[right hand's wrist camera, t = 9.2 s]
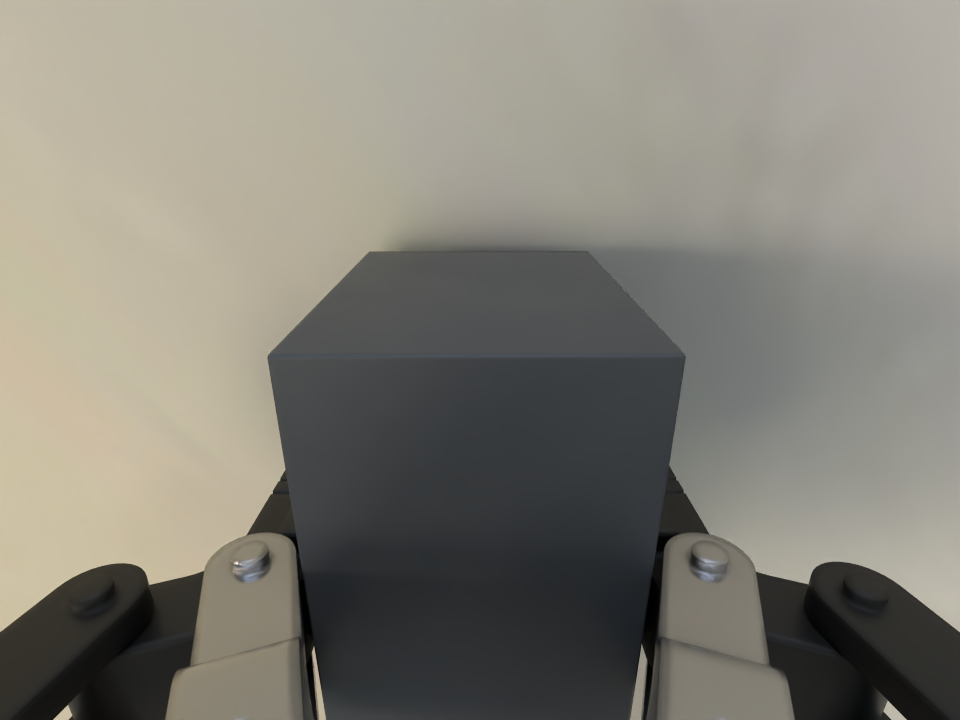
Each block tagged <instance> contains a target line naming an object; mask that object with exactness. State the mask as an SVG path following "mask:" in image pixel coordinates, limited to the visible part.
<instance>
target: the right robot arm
mask: <svg viewBox="0 0 960 720" xmlns="http://www.w3.org/2000/svg"><path fill="white" fill-rule="evenodd" d="M683 491H684V490H683V489H682V487H681V485H680V483H679V482H678V481H676V477H675V475H674V473H673V472H672V470H671V468H670V466H669V469H668V475H667V482H666V488H665V495H664V501H663V508H662V514H661V521H660V527H659V534H658V540H657V547H656V553H655V560H654V566H653V573H652V579H651V586H650V592H649V599H648V605H647V612H646V618H645V625H644V631H643V638H642V646H643V649H644V652H645V655H646V658H647V663H646V669H645V680H644V691H643V703H642V714H641V720H891V719H890V718H889V717H888V716H887V715H886V714H885V713H884V712H883V711H884V708H885V706H886V703H887V701H889V702H890V703H891V704H892V705H893V706H894V707H895V708H896V709H897V710H898V711H899V712H900V713H901V714H902V715H903V716H904V717H905V718H906V719H907V720H960V632H959V631H957V630H956V629H955V628H953V627H952V626H951V625H950V624H948V623H947V622H946V621H944V620H943V619H942V618H941V617H939V616H938V615H937V614H936V613H934V612H933V611H932V610H930V609H929V608H928V607H927V606H925V605H924V604H923V603H921V602H920V601H919V600H918V599H916V598H915V597H914V596H913V595H911V594H910V593H909V592H907V591H906V590H905V589H904V588H902V587H901V586H900V585H898V584H897V583H895V582H894V581H893V580H891V579H889V578H887V577H886V576H884V575H882V574H880V573H878V572H876V571H873V570H871V569H869V568H866V567H863V566H859V565H856V564H851V563H845V562H828V563H824V564H821V565H819V566H817V567H816V568H815V569H814V570H813V572H812V574H811V578H810V581H809V585H808V584H803V583H799V582H795V581H790V580H786V579H782V578H777V577H773V576H769V575H765V574H761V573H758V572H756V571H755V567H754V565H753V563H752V561H751V560H750V558H749V557H748V556H747V555H746V554H745V553H744V552H743V551H742V550H741V549H739V548H738V547H737V546H735V545H734V544H732V543H730V542H728V541H726V540H724V539H722V538H719V537H716V536H713V535H709V533H708V531H707V529H706V528H705V526H704V524H703V523H702V521H701V519H700V517H699V516H698V514H697V512H696V511H695V509H694V507H693V506H692V504H691V502H690V500H689V499H688V497H687V495H686V494H684V492H683ZM313 647H314V641H313V635H312V628H311V622H310V616H309V610H308V604H307V598H306V591H305V585H304V579H303V573H302V567H301V561H300V554H299V548H298V542H297V536H296V530H295V524H294V517H293V511H292V505H291V499H290V493H289V487H288V480H287V474H286V470H285V472H284V473H283V475H282V477H281V481H279V482H278V483H277V485H276V487H275V488H274V490H273V494H271V495H270V497H269V499H268V500H267V502H266V504H265V505H264V507H263V509H262V510H261V512H260V514H259V515H258V517H257V519H256V520H255V522H254V524H253V525H252V527H251V529H250V530H249V532H248V534H247V535H246V536H244V537H241V538H238V539H236V540H234V541H232V542H230V543H228V544H226V545H225V546H223V547H222V548H221V549H219V550H218V551H217V552H216V553H215V554H214V555H213V556H212V557H211V558H210V560H209V561H208V563H207V565H206V567H205V570H204V571H203V572H200V573H197V574H194V575H191V576H187V577H183V578H178V579H174V580H170V581H165V582H161V583H156V584H152V585H149V583H148V579H147V576H146V574H145V572H144V571H143V570H142V569H141V568H140V567H138V566H135V565H132V564H125V563H123V564H110V565H105V566H101V567H97V568H94V569H91V570H89V571H86V572H84V573H81V574H79V575H77V576H75V577H73V578H72V579H70V580H68V581H67V582H65V583H63V584H62V585H61V586H59V587H58V588H56V589H55V590H54V591H53V592H51V593H50V594H49V595H47V596H46V597H45V598H44V599H42V600H41V601H40V602H39V603H37V604H36V605H35V606H33V607H32V608H31V609H30V610H28V611H27V612H26V613H24V614H23V615H22V616H21V617H19V618H18V619H17V620H15V621H14V622H13V623H12V624H10V625H9V626H8V627H7V628H5V629H4V630H3V631H1V632H0V720H53V719H54V718H55V717H56V716H57V715H58V714H59V713H60V712H61V711H62V710H63V709H64V708H65V707H66V706H67V705H68V706H69V708H70V711H71V713H72V715H73V716H72V717H71V718H70V719H69V720H319V714H318V703H317V691H316V680H315V669H314V663H313V656H312V650H313Z"/></svg>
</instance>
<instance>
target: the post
mask: <svg viewBox="0 0 960 720" xmlns="http://www.w3.org/2000/svg"><path fill="white" fill-rule="evenodd" d="M685 358H686V357H685V354H684V353H683V352H682V351H681V350H680V349H679V348H678V347H677V346H676V345H675V344H674V342H673V341H672V340H671V339H670V338H669V337H668V336H667V335H666V334H665V333H664V332H663V331H662V330H661V329H660V328H659V327H658V326H657V324H656V323H655V322H654V321H653V320H652V319H651V318H650V317H649V316H648V315H647V314H646V313H645V312H644V311H643V310H642V309H641V308H640V306H639V305H638V304H637V303H636V302H635V301H634V300H633V299H632V298H631V297H630V296H629V295H628V294H627V293H626V292H625V291H624V290H623V288H622V287H621V286H620V285H619V284H618V283H617V282H616V281H615V280H614V279H613V278H612V277H611V276H610V275H609V274H608V273H607V272H606V270H605V269H604V268H603V267H602V266H601V265H600V264H599V263H598V262H597V261H596V260H595V259H594V258H593V257H592V256H591V255H590V254H589V252H587V251H465V252H369V253H368V254H367V255H366V256H365V257H364V258H363V259H362V260H361V261H360V262H359V263H358V264H357V265H356V266H355V267H354V268H353V269H352V270H351V271H350V272H349V273H348V274H347V275H346V276H345V277H344V278H343V279H342V280H341V281H340V282H339V283H338V284H337V285H336V286H335V287H334V288H333V289H332V290H331V291H330V292H329V293H328V295H327V296H326V297H325V298H324V299H323V300H322V301H321V302H320V303H319V304H318V305H317V306H316V307H315V308H314V309H313V310H312V311H311V312H310V313H309V314H308V315H307V316H306V317H305V318H304V319H303V320H302V321H301V322H300V323H299V324H298V325H297V326H296V327H295V328H294V329H293V330H292V331H291V332H290V333H289V334H288V335H287V336H286V337H285V338H284V340H283V341H282V342H281V343H280V344H279V345H278V346H277V347H276V348H275V349H274V350H273V351H272V352H271V353H270V354H269V355H268V363H269V370H270V376H271V382H272V388H273V394H274V400H275V407H276V413H277V419H278V425H279V431H280V437H281V444H282V450H283V456H284V462H285V468H286V474H287V480H288V487H289V493H290V499H291V505H292V511H293V517H294V524H295V530H296V536H297V542H298V548H299V554H300V561H301V567H302V573H303V579H304V585H305V591H306V598H307V604H308V610H309V616H310V622H311V628H312V635H313V641H314V647H315V653H316V659H317V665H318V671H319V678H320V684H321V690H322V696H323V702H324V708H325V715H326V720H630V716H631V709H632V703H633V696H634V690H635V683H636V677H637V670H638V664H639V657H640V651H641V644H642V638H643V631H644V625H645V618H646V612H647V605H648V599H649V592H650V586H651V579H652V573H653V566H654V560H655V553H656V547H657V540H658V534H659V527H660V521H661V514H662V508H663V501H664V495H665V488H666V482H667V475H668V469H669V462H670V456H671V449H672V443H673V436H674V430H675V423H676V417H677V410H678V403H679V397H680V390H681V384H682V377H683V371H684V364H685Z"/></svg>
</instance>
